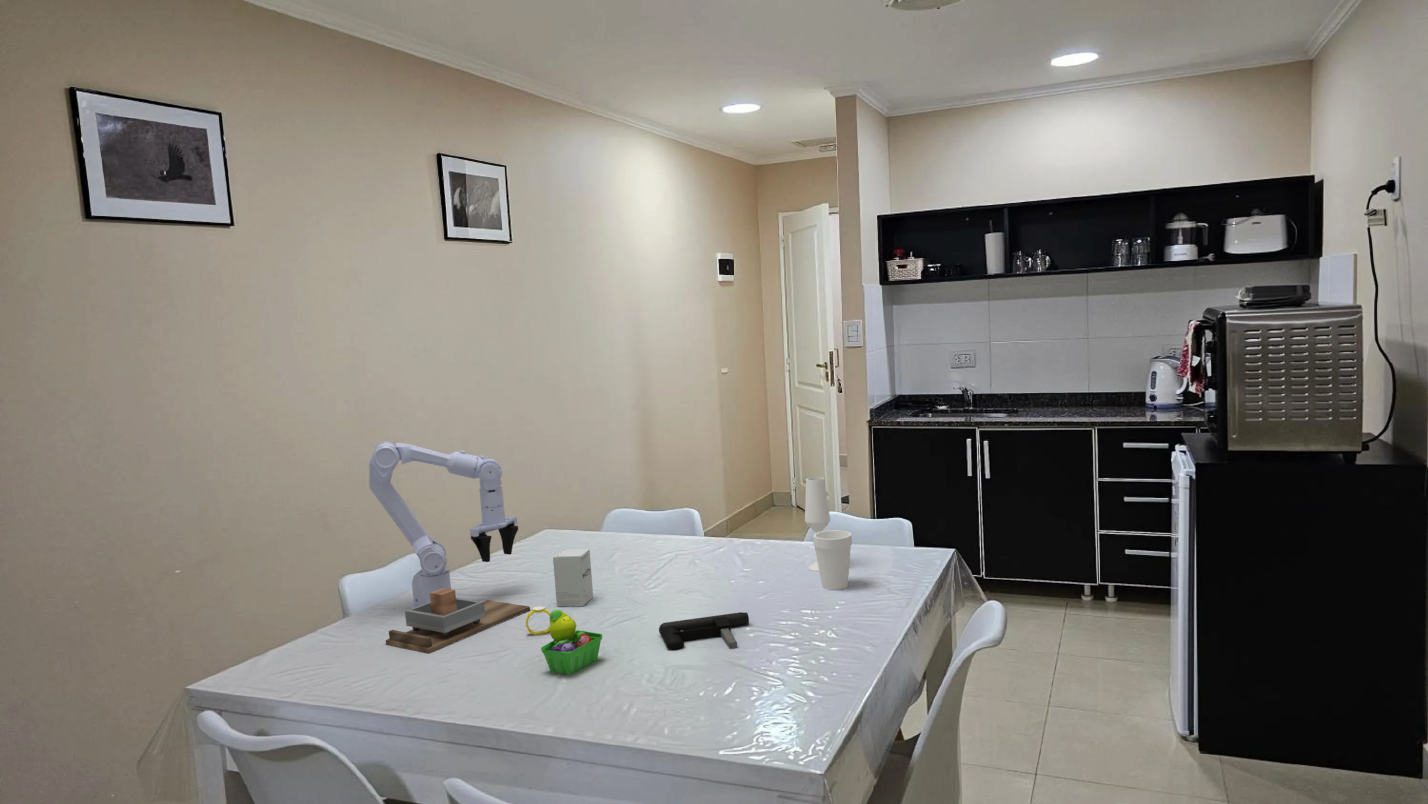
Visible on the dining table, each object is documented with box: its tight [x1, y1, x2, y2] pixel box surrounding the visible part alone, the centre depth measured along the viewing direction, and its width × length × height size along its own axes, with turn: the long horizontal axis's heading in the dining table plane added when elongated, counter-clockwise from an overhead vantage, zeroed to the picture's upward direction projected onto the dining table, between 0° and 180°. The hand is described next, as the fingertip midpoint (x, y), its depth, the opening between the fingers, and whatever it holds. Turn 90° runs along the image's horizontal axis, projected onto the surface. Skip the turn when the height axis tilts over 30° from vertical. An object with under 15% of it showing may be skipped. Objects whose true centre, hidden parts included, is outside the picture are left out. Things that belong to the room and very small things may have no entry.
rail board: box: [385, 599, 531, 654], centre depth 219 cm, size 14×31×3 cm, turn 147°
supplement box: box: [552, 548, 594, 607], centre depth 232 cm, size 7×7×13 cm
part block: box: [430, 588, 457, 616], centre depth 215 cm, size 4×4×6 cm
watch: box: [525, 606, 551, 636], centre depth 210 cm, size 6×3×6 cm, turn 104°
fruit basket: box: [540, 609, 603, 675], centre depth 189 cm, size 11×9×11 cm
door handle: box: [658, 611, 750, 651], centre depth 200 cm, size 3×20×16 cm
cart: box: [404, 596, 485, 637], centre depth 215 cm, size 13×12×5 cm
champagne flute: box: [804, 476, 831, 572], centre depth 247 cm, size 7×7×24 cm
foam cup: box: [812, 529, 853, 591], centre depth 230 cm, size 10×9×13 cm
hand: (497, 557), depth 240 cm, fingers open, 7 cm apart
